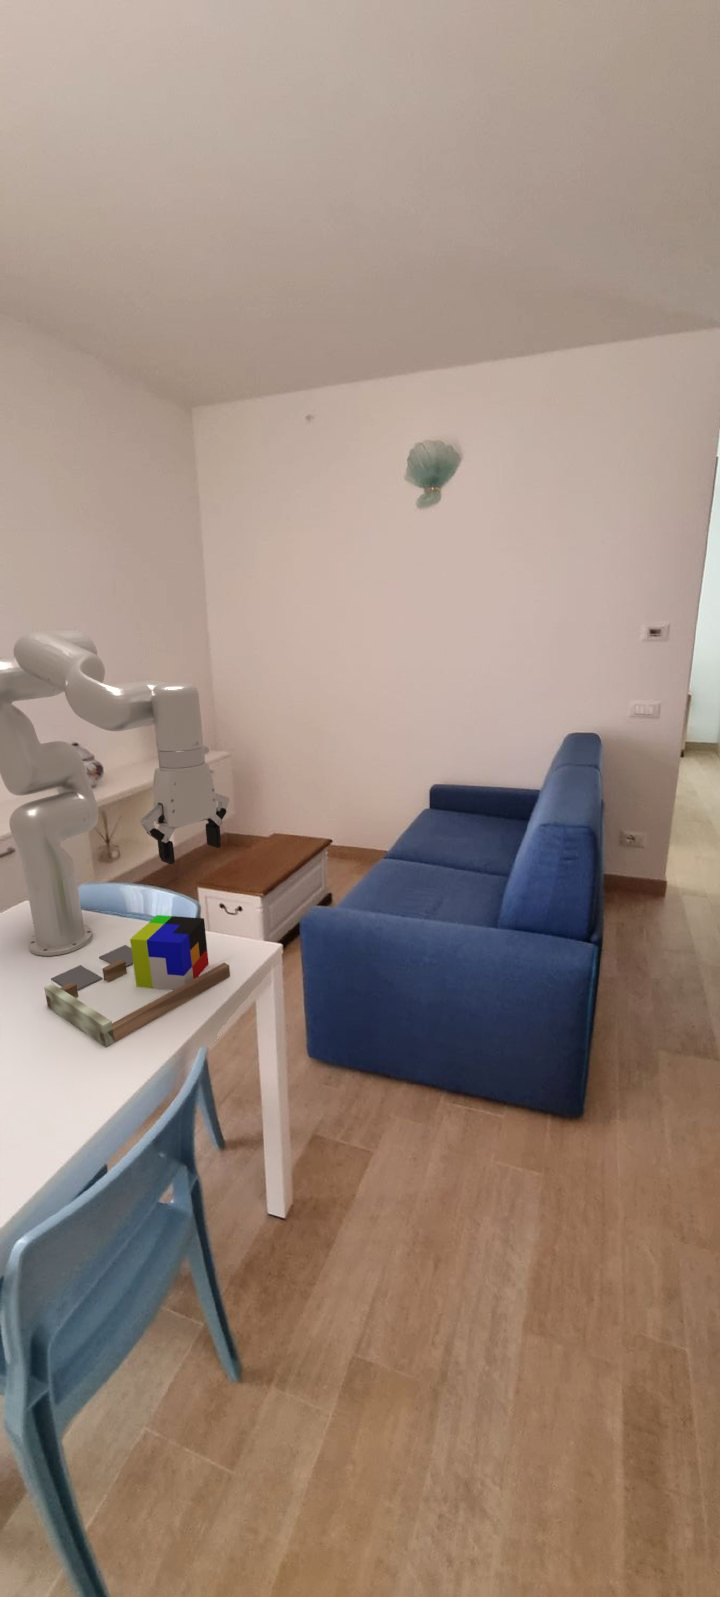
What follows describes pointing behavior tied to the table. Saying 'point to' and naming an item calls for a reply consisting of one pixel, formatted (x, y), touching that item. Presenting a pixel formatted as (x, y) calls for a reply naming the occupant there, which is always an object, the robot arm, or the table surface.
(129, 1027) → the trap box
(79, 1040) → the table surface
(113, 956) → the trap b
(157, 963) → the puzzle toy
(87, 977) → the grey flat block
